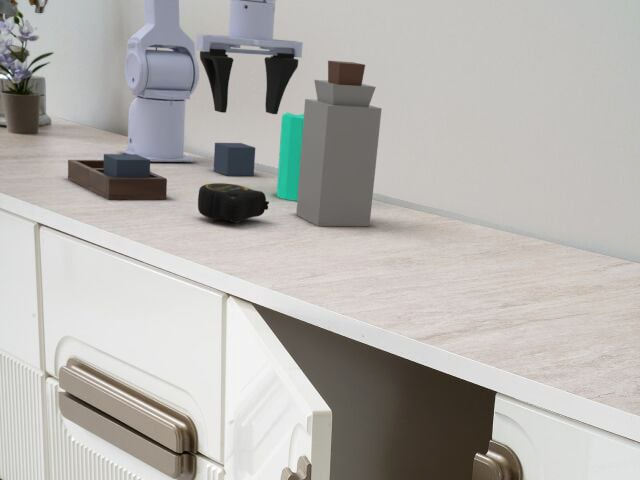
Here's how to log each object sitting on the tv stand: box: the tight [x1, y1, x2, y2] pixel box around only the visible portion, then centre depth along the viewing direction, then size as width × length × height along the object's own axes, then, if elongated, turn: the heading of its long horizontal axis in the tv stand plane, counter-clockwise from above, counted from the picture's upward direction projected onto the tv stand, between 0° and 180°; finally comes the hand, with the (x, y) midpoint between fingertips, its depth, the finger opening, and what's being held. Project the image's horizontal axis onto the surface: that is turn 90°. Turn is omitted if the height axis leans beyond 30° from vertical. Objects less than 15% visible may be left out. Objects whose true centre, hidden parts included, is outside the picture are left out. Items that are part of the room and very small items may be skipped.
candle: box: [276, 112, 304, 202], centre depth 147 cm, size 6×6×12 cm
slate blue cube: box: [213, 142, 256, 177], centre depth 163 cm, size 4×4×4 cm
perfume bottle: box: [295, 60, 382, 227], centre depth 133 cm, size 7×7×18 cm
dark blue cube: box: [103, 153, 151, 178], centre depth 140 cm, size 4×4×4 cm
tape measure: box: [197, 182, 270, 224], centre depth 130 cm, size 7×7×4 cm
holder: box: [67, 159, 168, 201], centre depth 143 cm, size 14×8×2 cm, turn 31°
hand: (246, 112), depth 149 cm, fingers open, 7 cm apart
